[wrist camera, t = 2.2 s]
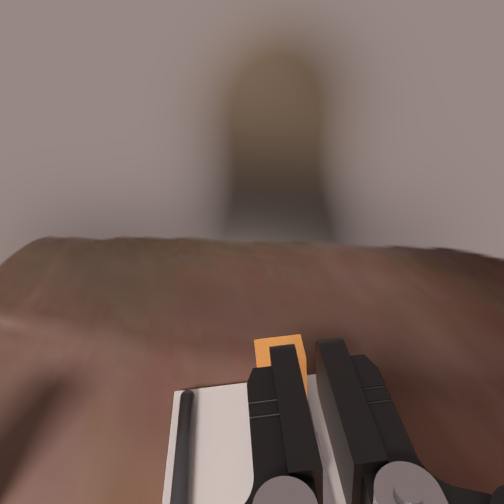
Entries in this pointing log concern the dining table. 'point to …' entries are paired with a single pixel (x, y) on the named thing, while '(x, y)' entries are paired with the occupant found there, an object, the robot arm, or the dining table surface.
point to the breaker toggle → (264, 359)
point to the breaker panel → (227, 447)
